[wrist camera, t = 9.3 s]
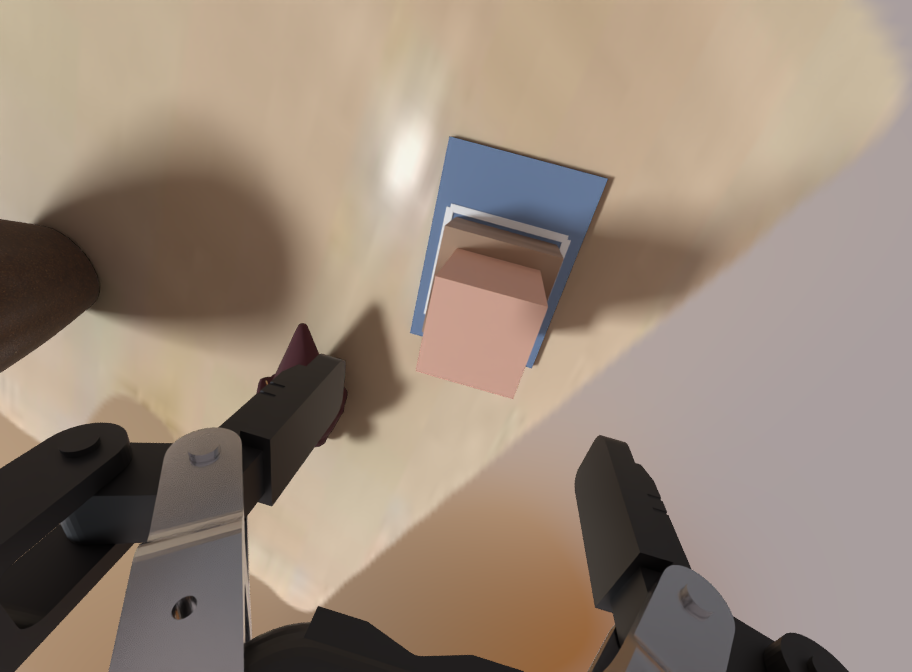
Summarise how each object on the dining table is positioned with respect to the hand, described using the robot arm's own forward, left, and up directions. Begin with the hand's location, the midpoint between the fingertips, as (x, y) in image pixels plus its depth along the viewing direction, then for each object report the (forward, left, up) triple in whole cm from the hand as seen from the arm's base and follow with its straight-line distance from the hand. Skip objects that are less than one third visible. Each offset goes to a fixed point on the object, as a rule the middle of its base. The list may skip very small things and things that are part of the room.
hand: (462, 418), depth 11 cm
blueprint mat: (-1, 0, -16) cm, 16 cm away
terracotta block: (0, 0, -12) cm, 12 cm away
